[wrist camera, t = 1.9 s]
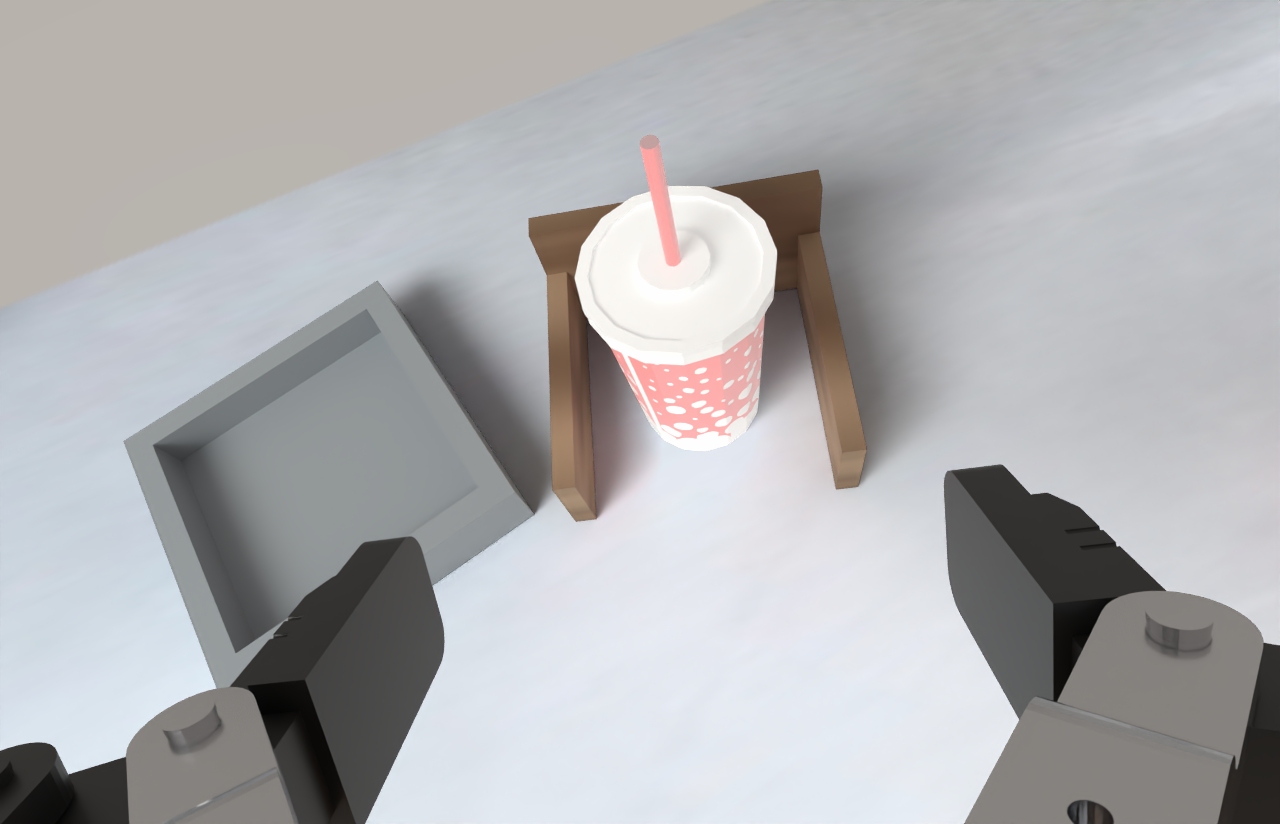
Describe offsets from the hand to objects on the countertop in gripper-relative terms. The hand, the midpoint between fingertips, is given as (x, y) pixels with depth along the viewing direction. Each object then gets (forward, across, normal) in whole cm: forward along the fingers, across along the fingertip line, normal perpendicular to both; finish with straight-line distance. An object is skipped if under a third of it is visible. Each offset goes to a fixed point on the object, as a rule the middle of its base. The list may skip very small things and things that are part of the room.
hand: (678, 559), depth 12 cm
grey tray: (+18, +15, +5) cm, 24 cm away
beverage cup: (+20, 0, +4) cm, 20 cm away
